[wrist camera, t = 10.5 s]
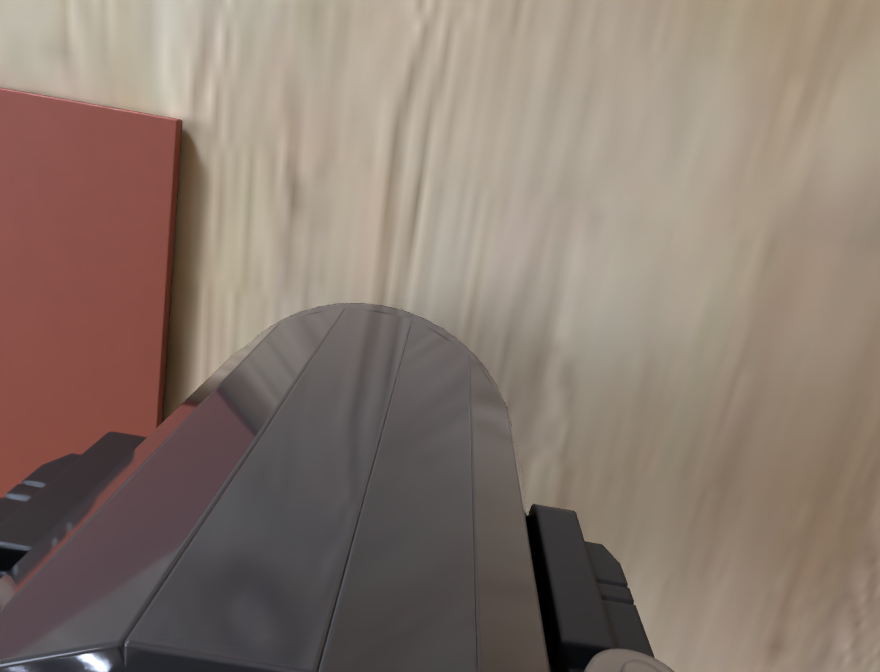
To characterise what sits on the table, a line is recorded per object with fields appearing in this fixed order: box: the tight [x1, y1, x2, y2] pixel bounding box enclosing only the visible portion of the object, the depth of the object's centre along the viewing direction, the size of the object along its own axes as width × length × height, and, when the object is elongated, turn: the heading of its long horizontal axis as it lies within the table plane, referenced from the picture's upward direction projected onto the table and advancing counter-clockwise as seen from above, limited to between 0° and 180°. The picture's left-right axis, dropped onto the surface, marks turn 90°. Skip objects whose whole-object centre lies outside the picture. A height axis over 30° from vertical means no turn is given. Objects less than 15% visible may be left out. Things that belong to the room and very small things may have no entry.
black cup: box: [0, 303, 555, 672], centre depth 10 cm, size 6×6×10 cm
